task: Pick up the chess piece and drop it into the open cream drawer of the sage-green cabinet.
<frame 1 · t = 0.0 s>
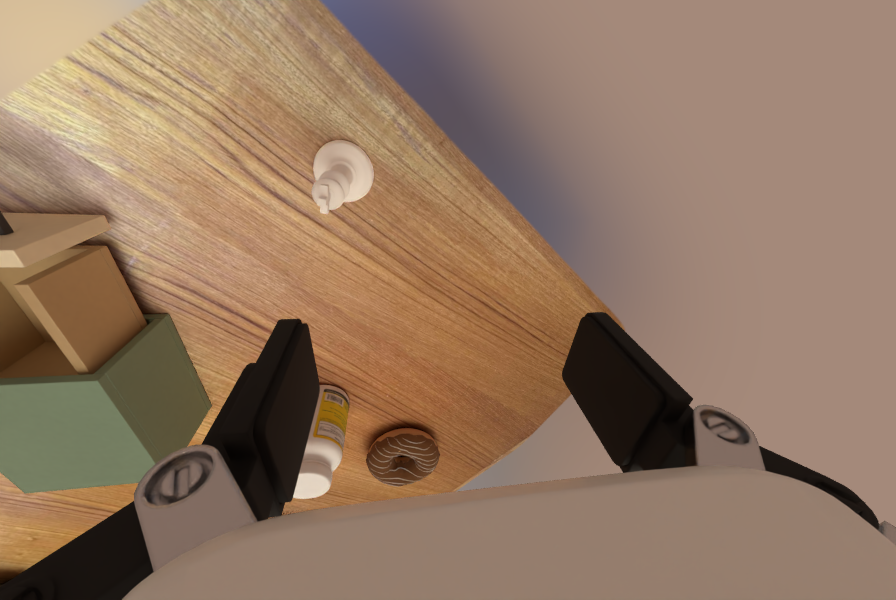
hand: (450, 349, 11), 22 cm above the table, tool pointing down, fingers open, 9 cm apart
chess piece: (344, 171, 27), on the table
pill bottle: (325, 398, 41), on the table
cabinet: (132, 366, 34), on the table
drawer: (10, 277, 23), point 5 cm above the table, slide at 9.0 cm
donut: (403, 443, 48), on the table
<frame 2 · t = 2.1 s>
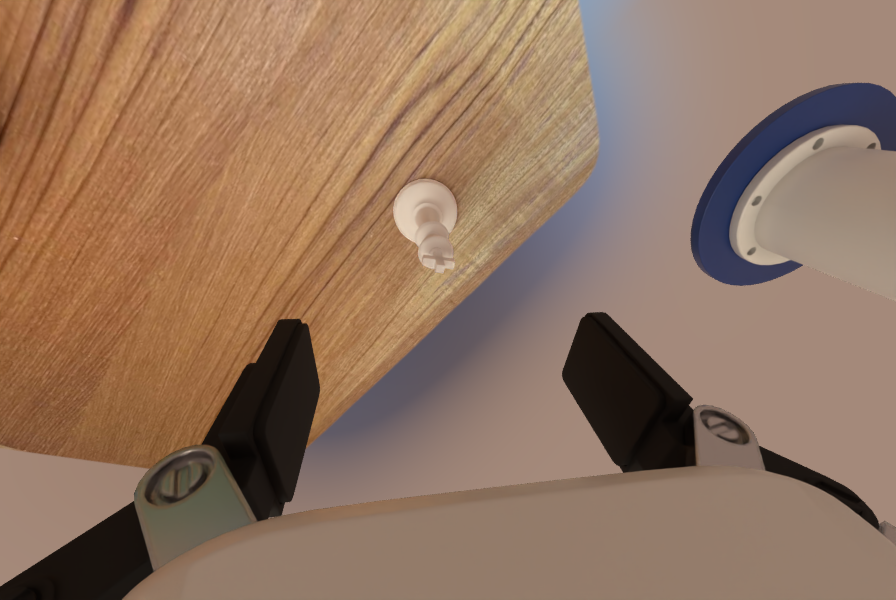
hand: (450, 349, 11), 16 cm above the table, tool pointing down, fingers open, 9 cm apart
chess piece: (425, 211, 25), on the table
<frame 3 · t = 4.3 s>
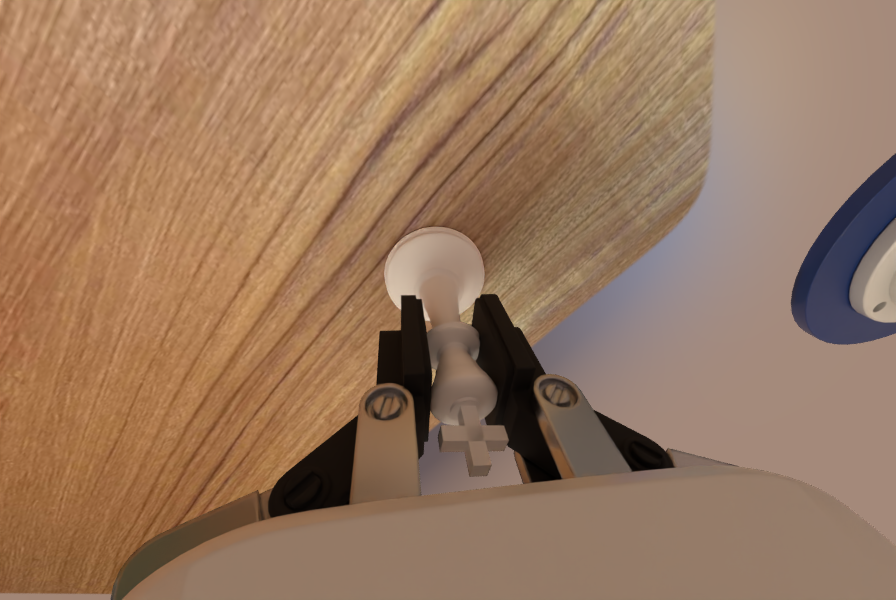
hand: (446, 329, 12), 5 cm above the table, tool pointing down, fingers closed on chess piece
chess piece: (434, 272, 16), on the table, touching gripper
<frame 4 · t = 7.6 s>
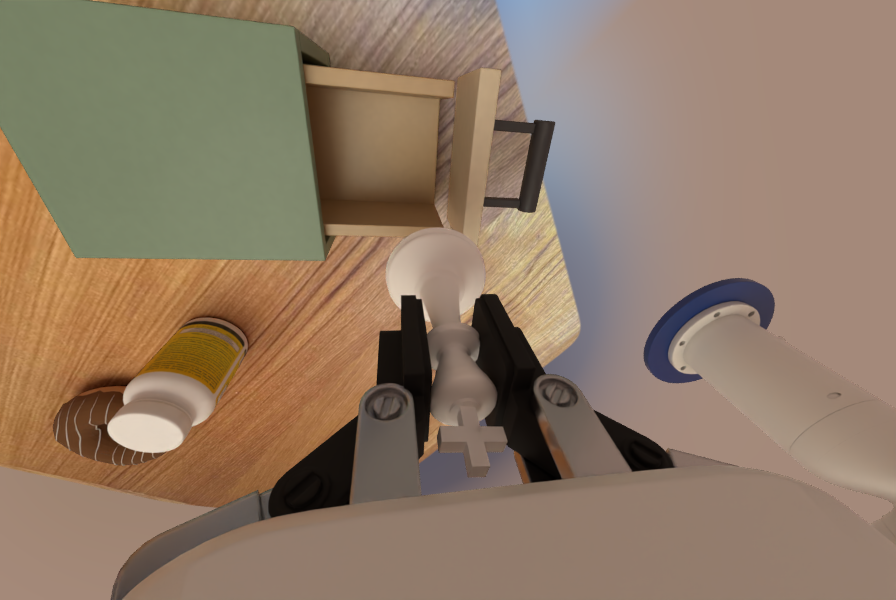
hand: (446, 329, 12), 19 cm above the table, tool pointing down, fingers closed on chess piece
chess piece: (435, 273, 16), point 14 cm above the table, touching gripper
pill bottle: (217, 338, 33), on the table
cabinet: (243, 138, 24), on the table
drawer: (422, 159, 22), point 5 cm above the table, slide at 9.0 cm
donut: (136, 410, 36), on the table
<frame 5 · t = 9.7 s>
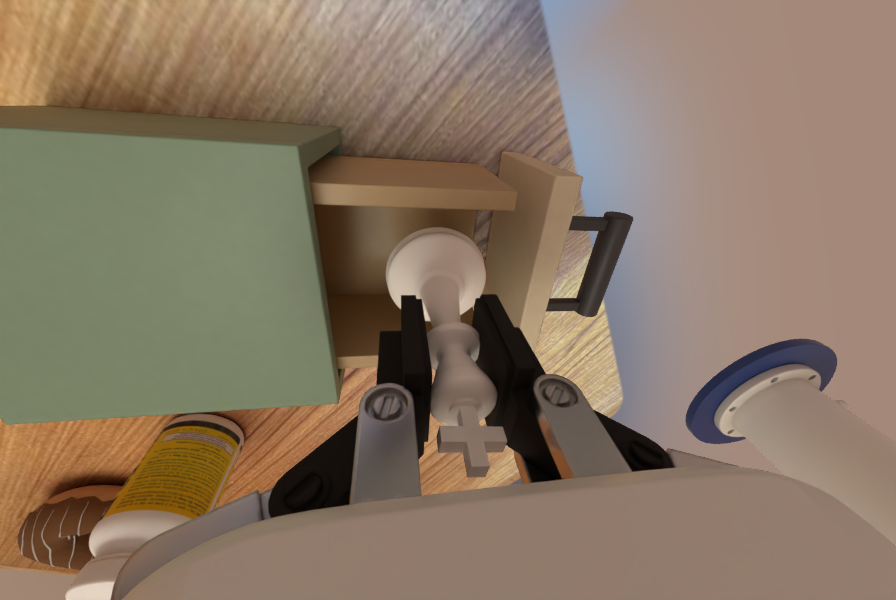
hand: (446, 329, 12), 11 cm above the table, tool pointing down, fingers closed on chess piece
chess piece: (435, 272, 16), point 6 cm above the table, touching gripper
pill bottle: (208, 431, 28), on the table
cabinet: (234, 226, 19), on the table
drawer: (460, 259, 17), point 5 cm above the table, slide at 9.0 cm
donut: (118, 504, 31), on the table
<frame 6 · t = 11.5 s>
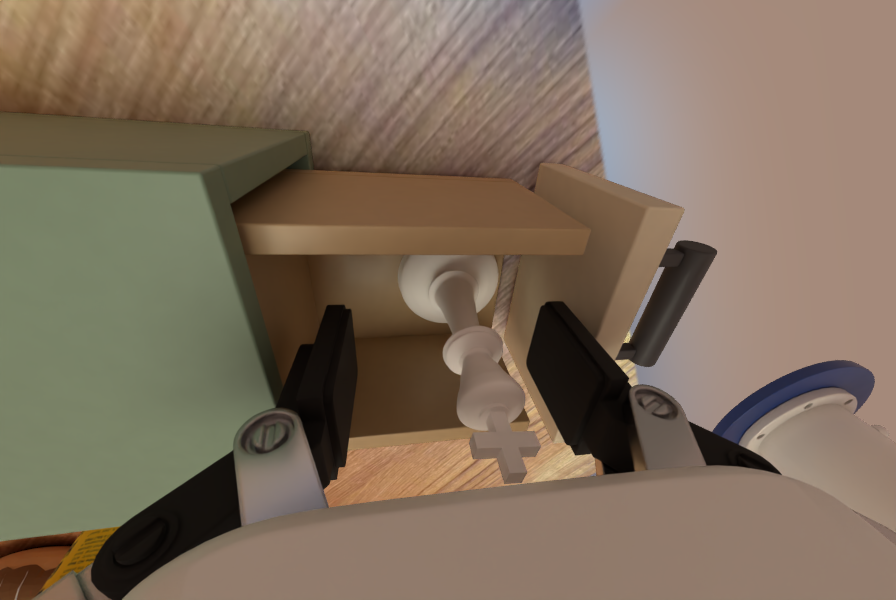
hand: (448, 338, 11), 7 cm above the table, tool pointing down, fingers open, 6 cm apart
chess piece: (447, 274, 16), point 2 cm above the table, touching drawer
pill bottle: (170, 485, 24), on the table
cabinet: (178, 258, 15), on the table
drawer: (490, 301, 14), point 5 cm above the table, slide at 10.1 cm, touching chess piece, gripper
donut: (72, 563, 27), on the table
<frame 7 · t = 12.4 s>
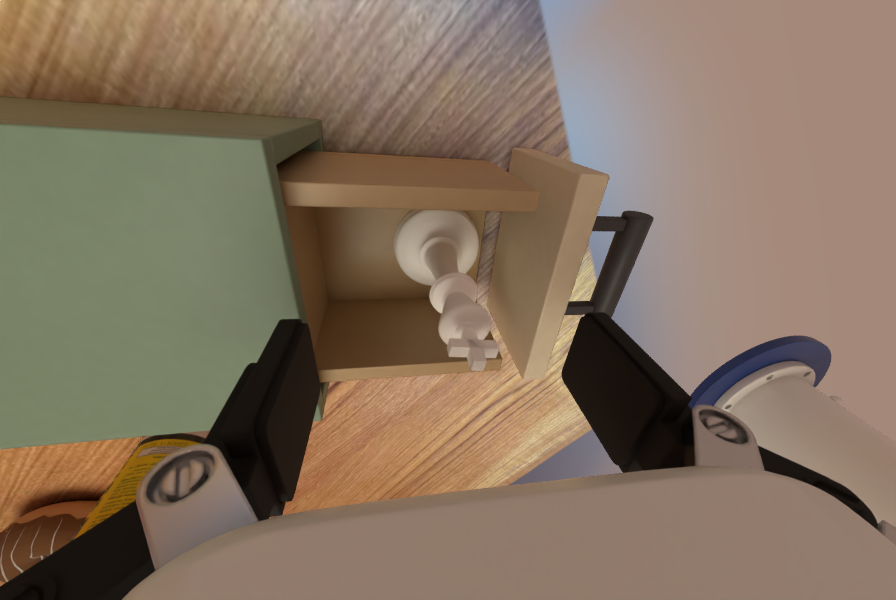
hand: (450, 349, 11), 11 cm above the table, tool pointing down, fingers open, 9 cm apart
chess piece: (435, 243, 19), point 2 cm above the table, touching drawer
pill bottle: (189, 443, 27), on the table
cabinet: (207, 228, 18), on the table
drawer: (470, 262, 16), point 5 cm above the table, slide at 10.0 cm, touching chess piece
donut: (97, 519, 30), on the table
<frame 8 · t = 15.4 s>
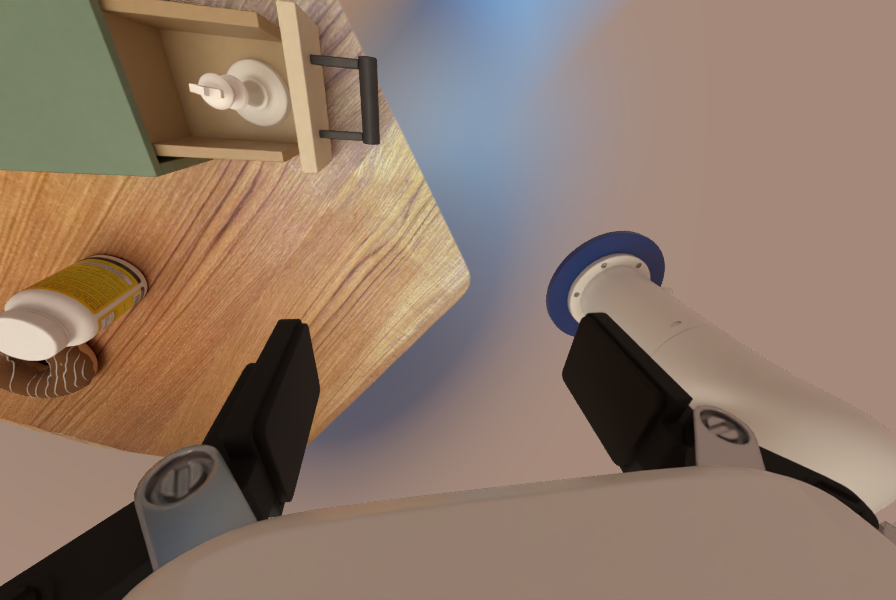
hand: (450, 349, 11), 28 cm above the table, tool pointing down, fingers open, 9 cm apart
chess piece: (260, 94, 27), point 2 cm above the table, touching drawer
pill bottle: (118, 277, 36), on the table
cabinet: (106, 80, 27), on the table
drawer: (268, 94, 25), point 5 cm above the table, slide at 10.0 cm, touching chess piece
donut: (53, 349, 39), on the table
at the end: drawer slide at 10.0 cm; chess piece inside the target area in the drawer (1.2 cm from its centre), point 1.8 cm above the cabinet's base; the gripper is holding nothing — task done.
